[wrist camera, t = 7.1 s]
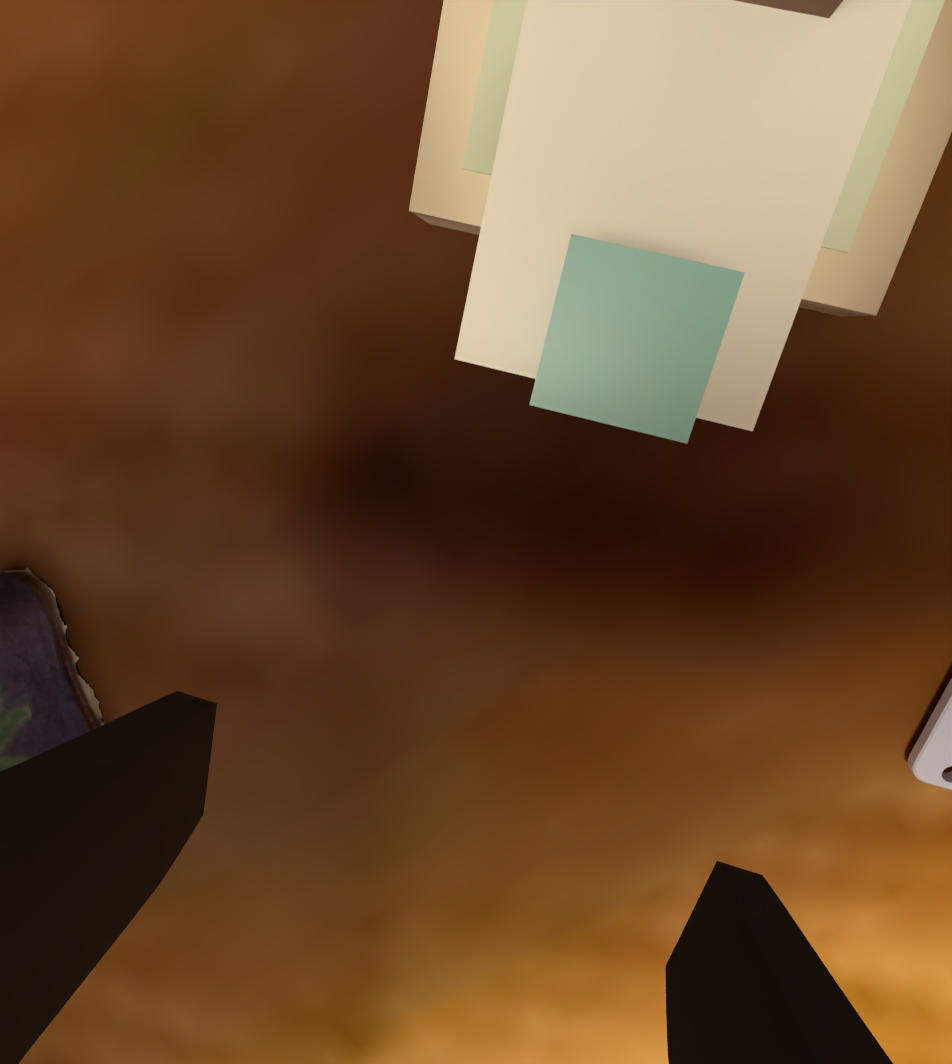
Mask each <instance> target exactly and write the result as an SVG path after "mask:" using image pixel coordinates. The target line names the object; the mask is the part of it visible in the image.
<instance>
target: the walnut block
mask: <svg viewBox="0 0 952 1064" xmlns="http://www.w3.org/2000/svg"><path fill="white" fill-rule="evenodd" d="M734 1H740V2H745V3H750V4H756V5H761V6H766V7H771V8H777V9H782V10H787V11H793V12H798V13H803V14H808V15H814V16H819V17H824V18H830V16H831V15H832V14H833V13H834V11H835V10H836V9H837V8H838V6H839V5H840V4H841V3H842V2H843V0H734Z"/></svg>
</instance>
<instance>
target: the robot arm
mask: <svg viewBox="0 0 952 1064" xmlns="http://www.w3.org/2000/svg"><path fill="white" fill-rule="evenodd" d="M216 707H217V703H214V702H210V701H207V700H204V699H201V698H198V697H195V696H191V695H188V694H185V693H182V692H179V691H176V692H174V693H172V694H169V695H167V696H165V697H163V698H160V699H158V700H156V701H154V702H152V703H149V704H147V705H145V706H143V707H141V708H139V709H136V710H134V711H132V712H130V713H128V714H126V715H124V716H122V717H119V718H117V719H115V720H113V721H111V722H109V723H107V724H105V725H102V726H100V727H98V728H96V729H94V730H92V731H90V732H87V733H85V734H83V735H81V736H79V737H77V738H74V739H72V740H70V741H68V742H66V743H63V744H61V745H59V746H57V747H55V748H52V749H50V750H48V751H46V752H43V753H41V754H39V755H37V756H35V757H32V758H30V759H28V760H26V761H24V762H21V763H19V764H17V765H15V766H12V767H10V768H8V769H5V770H3V771H0V1064H19V1062H20V1061H21V1060H22V1058H23V1057H24V1055H25V1054H26V1053H27V1052H28V1050H29V1049H30V1048H31V1047H32V1045H33V1044H34V1043H35V1041H36V1040H37V1039H38V1038H39V1036H40V1035H41V1034H42V1033H43V1031H44V1030H45V1029H46V1028H47V1026H48V1025H49V1024H50V1023H51V1021H52V1020H53V1019H54V1018H55V1016H56V1015H57V1014H58V1012H59V1011H60V1010H61V1009H62V1007H63V1006H64V1005H65V1004H66V1002H67V1001H68V1000H69V999H70V997H71V996H72V995H73V994H74V992H75V991H76V990H77V988H78V987H79V986H80V985H81V983H82V982H83V981H84V980H85V978H86V977H87V976H88V975H89V973H90V972H91V971H92V970H93V968H94V967H95V966H96V965H97V963H98V962H99V961H100V959H101V958H102V957H103V956H104V954H105V953H106V952H107V951H108V949H109V948H110V947H111V946H112V944H113V943H114V942H115V941H116V939H117V938H118V937H119V935H120V934H121V933H122V932H123V930H124V929H125V928H126V926H127V925H128V924H129V923H130V921H131V920H132V919H133V918H134V916H135V915H136V914H137V912H138V911H139V910H140V909H141V907H142V906H143V905H144V903H145V902H146V901H147V900H148V898H149V897H150V896H151V894H152V893H153V892H154V891H155V889H156V888H157V887H158V885H159V884H160V883H161V881H162V880H163V878H164V876H165V875H166V873H167V872H168V870H169V869H170V867H171V866H172V864H173V862H174V861H175V859H176V858H177V856H178V855H179V853H180V852H181V850H182V848H183V847H184V845H185V843H186V842H187V840H188V839H189V837H190V835H191V834H192V832H193V830H194V829H195V827H196V825H197V824H198V822H199V821H200V819H201V817H202V816H203V812H204V804H205V796H206V788H207V780H208V772H209V764H210V756H211V747H212V739H213V731H214V723H215V715H216ZM907 762H908V766H909V769H910V770H911V771H912V773H913V774H914V775H915V776H916V778H917V779H918V780H920V781H923V782H925V783H928V784H932V785H935V786H939V787H943V788H946V789H950V790H952V771H950V772H948V773H942V772H943V771H944V770H945V769H946V768H948V767H951V766H952V678H951V680H950V682H949V684H948V686H947V687H946V689H945V691H944V693H943V695H942V696H941V698H940V700H939V702H938V704H937V706H936V707H935V709H934V711H933V713H932V715H931V717H930V718H929V720H928V722H927V724H926V726H925V728H924V729H923V731H922V733H921V735H920V737H919V738H918V740H917V742H916V744H915V746H914V748H913V749H912V751H911V753H910V755H909V758H908V761H907ZM666 1015H667V1041H668V1059H669V1064H893V1063H892V1062H891V1060H890V1059H889V1057H888V1056H887V1055H886V1053H885V1052H884V1050H883V1049H882V1048H881V1046H880V1045H879V1043H878V1042H877V1040H876V1039H875V1038H874V1036H873V1035H872V1033H871V1032H870V1031H869V1029H868V1028H867V1026H866V1025H865V1023H864V1022H863V1021H862V1019H861V1018H860V1016H859V1015H858V1013H857V1012H856V1010H855V1009H854V1008H853V1006H852V1005H851V1003H850V1002H849V1000H848V999H847V997H846V996H845V995H844V993H843V992H842V990H841V989H840V987H839V986H838V984H837V983H836V981H835V980H834V978H833V977H832V976H831V974H830V973H829V971H828V970H827V968H826V967H825V965H824V964H823V962H822V961H821V959H820V958H819V956H818V955H817V953H816V952H815V951H814V949H813V948H812V946H811V945H810V943H809V942H808V940H807V939H806V937H805V936H804V934H803V933H802V931H801V930H800V928H799V927H798V925H797V924H796V923H795V921H794V920H793V918H792V917H791V915H790V914H789V912H788V911H787V909H786V908H785V906H784V905H783V904H782V902H781V901H780V899H779V898H778V896H777V895H776V893H775V892H774V891H773V889H772V888H771V886H770V885H769V884H768V882H767V881H766V880H765V878H764V877H763V876H762V875H760V874H757V873H753V872H750V871H747V870H744V869H741V868H738V867H734V866H731V865H728V864H725V863H722V862H719V861H717V862H716V864H715V867H714V869H713V871H712V873H711V875H710V877H709V879H708V881H707V883H706V885H705V887H704V889H703V891H702V893H701V895H700V897H699V899H698V901H697V903H696V905H695V907H694V909H693V911H692V914H691V916H690V918H689V920H688V922H687V924H686V926H685V928H684V930H683V932H682V934H681V936H680V938H679V940H678V942H677V944H676V946H675V948H674V950H673V952H672V954H671V956H670V959H669V961H668V963H667V965H666Z"/></svg>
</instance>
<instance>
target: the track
mask: <svg viewBox="0 0 952 1064" xmlns="http://www.w3.org/2000/svg"><path fill="white" fill-rule="evenodd" d="M526 2H527V0H444V2H443V8H442V14H441V20H440V26H439V32H438V38H437V44H436V50H435V56H434V62H433V68H432V74H431V80H430V86H429V92H428V98H427V104H426V111H425V117H424V123H423V129H422V135H421V141H420V147H419V153H418V159H417V165H416V171H415V177H414V183H413V189H412V195H411V201H410V207H409V211H410V212H412V213H413V214H415V215H416V216H418V217H420V218H421V219H423V220H424V221H426V222H427V223H429V224H432V225H436V226H441V227H445V228H450V229H454V230H459V231H463V232H467V233H472V234H476V235H480V230H481V225H482V220H483V215H484V210H485V205H486V200H487V195H488V190H489V185H490V180H491V175H492V170H493V165H494V160H495V155H496V150H497V146H498V141H499V136H500V131H501V126H502V121H503V116H504V111H505V106H506V101H507V96H508V91H509V86H510V81H511V76H512V71H513V66H514V61H515V56H516V51H517V46H518V41H519V36H520V31H521V26H522V21H523V17H524V12H525V7H526ZM951 132H952V0H912V1H911V4H910V6H909V9H908V12H907V15H906V17H905V20H904V23H903V25H902V28H901V31H900V34H899V36H898V39H897V42H896V44H895V47H894V50H893V52H892V55H891V58H890V61H889V63H888V66H887V69H886V71H885V74H884V77H883V80H882V82H881V85H880V88H879V90H878V93H877V96H876V99H875V101H874V104H873V107H872V109H871V112H870V115H869V118H868V120H867V123H866V126H865V128H864V131H863V134H862V137H861V139H860V142H859V145H858V147H857V150H856V153H855V155H854V158H853V161H852V164H851V166H850V169H849V172H848V174H847V177H846V180H845V183H844V185H843V188H842V191H841V193H840V196H839V199H838V202H837V204H836V207H835V210H834V212H833V215H832V218H831V221H830V223H829V226H828V229H827V231H826V234H825V237H824V240H823V242H822V245H821V248H820V250H819V253H818V256H817V258H816V261H815V264H814V267H813V269H812V272H811V275H810V277H809V280H808V283H807V286H806V288H805V291H804V294H803V296H802V299H801V302H800V305H799V307H800V308H805V309H809V310H814V311H818V312H822V313H827V314H831V315H836V316H876V315H877V313H878V310H879V308H880V305H881V303H882V300H883V298H884V296H885V293H886V291H887V288H888V286H889V283H890V281H891V278H892V276H893V274H894V271H895V269H896V266H897V264H898V261H899V259H900V256H901V254H902V252H903V249H904V247H905V244H906V242H907V239H908V237H909V235H910V232H911V230H912V227H913V225H914V222H915V220H916V217H917V215H918V213H919V210H920V208H921V205H922V203H923V200H924V198H925V195H926V193H927V191H928V188H929V186H930V183H931V181H932V178H933V176H934V174H935V171H936V169H937V166H938V164H939V161H940V159H941V156H942V154H943V152H944V149H945V147H946V144H947V142H948V139H949V137H950V134H951Z"/></svg>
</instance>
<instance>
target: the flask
mask: <svg viewBox="0 0 952 1064" xmlns="http://www.w3.org/2000/svg"><path fill="white" fill-rule="evenodd" d="M55 599H56V598H55V594H54V592H53V591H52V589H51V588H50V587H48V586H47V584H45V583H44V582H43V581H41V580H39V578H38V577H37V576H35V575H34V574H32V572H31V571H30V569H29V568H28V567H27V568H26V569H25V570H16V569H15V570H9V571H5V572H4V573H0V771H3V770H5V769H8V768H10V767H12V766H15V765H17V764H19V763H21V762H24V761H26V760H28V759H30V758H32V757H35V756H37V755H39V754H41V753H43V752H46V751H48V750H50V749H52V748H55V747H57V746H59V745H61V744H63V743H66V742H68V741H70V740H72V739H74V738H77V737H79V736H81V735H83V734H85V733H87V732H90V731H92V730H94V729H96V728H98V727H100V726H102V725H104V723H103V722H102V720H101V718H102V717H103V716H102V713H101V711H100V709H99V701H98V700H97V699H96V698H95V696H94V691H93V689H92V688H90V687H89V684H86V682H85V680H83V679H82V678H81V676H80V675H78V671H76V666H75V663H76V662H77V661H78V660H79V659H80V658H79V657H78V656H76V654H75V652H73V651H72V649H71V648H70V647H68V643H67V641H66V638H65V636H66V628H67V626H65V625H64V623H63V621H62V619H61V618H60V617H59V609H58V607H57V604H56V600H55Z"/></svg>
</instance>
